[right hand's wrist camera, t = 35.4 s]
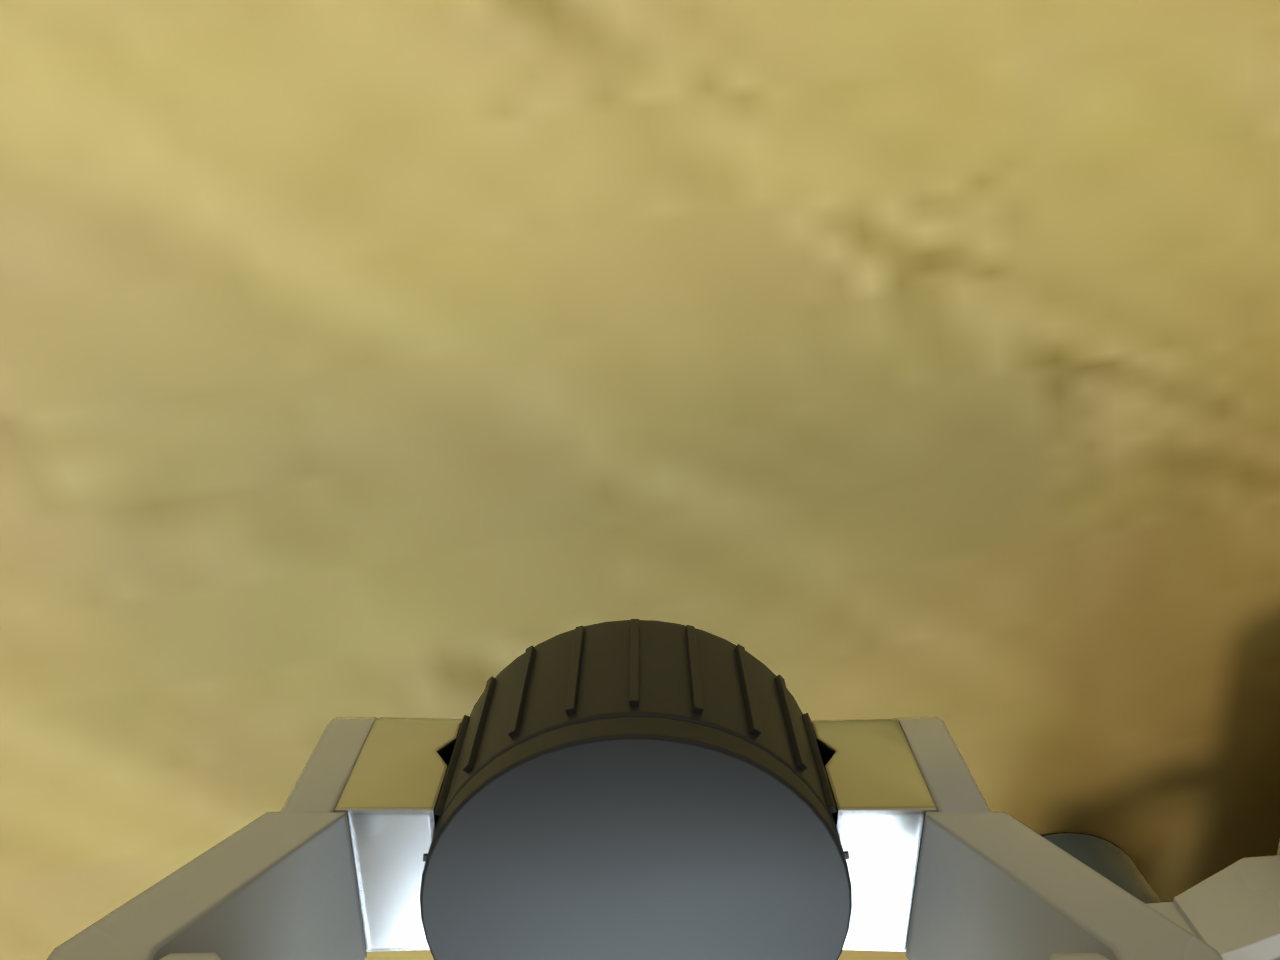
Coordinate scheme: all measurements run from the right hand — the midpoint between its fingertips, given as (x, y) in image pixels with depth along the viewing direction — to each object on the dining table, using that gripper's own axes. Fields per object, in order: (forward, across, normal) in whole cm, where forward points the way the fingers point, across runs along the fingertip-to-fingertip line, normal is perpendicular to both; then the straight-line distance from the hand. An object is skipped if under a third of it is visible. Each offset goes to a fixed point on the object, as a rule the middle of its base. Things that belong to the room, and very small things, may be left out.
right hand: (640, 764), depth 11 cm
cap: (-2, 0, 0) cm, 2 cm away
